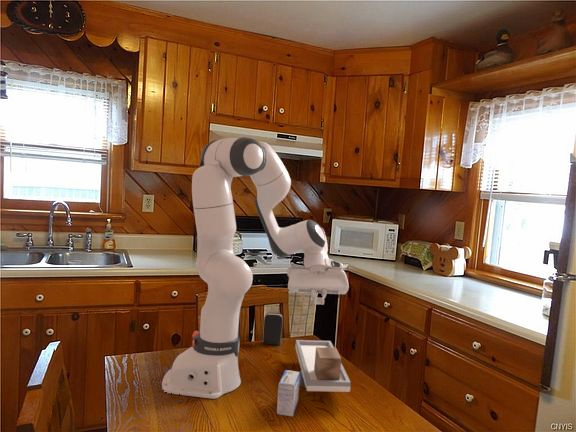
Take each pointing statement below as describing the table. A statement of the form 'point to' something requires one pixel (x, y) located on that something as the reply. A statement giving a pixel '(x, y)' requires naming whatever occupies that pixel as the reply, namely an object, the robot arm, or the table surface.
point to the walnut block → (327, 364)
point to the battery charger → (272, 328)
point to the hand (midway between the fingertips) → (319, 303)
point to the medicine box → (288, 393)
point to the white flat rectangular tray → (307, 362)
